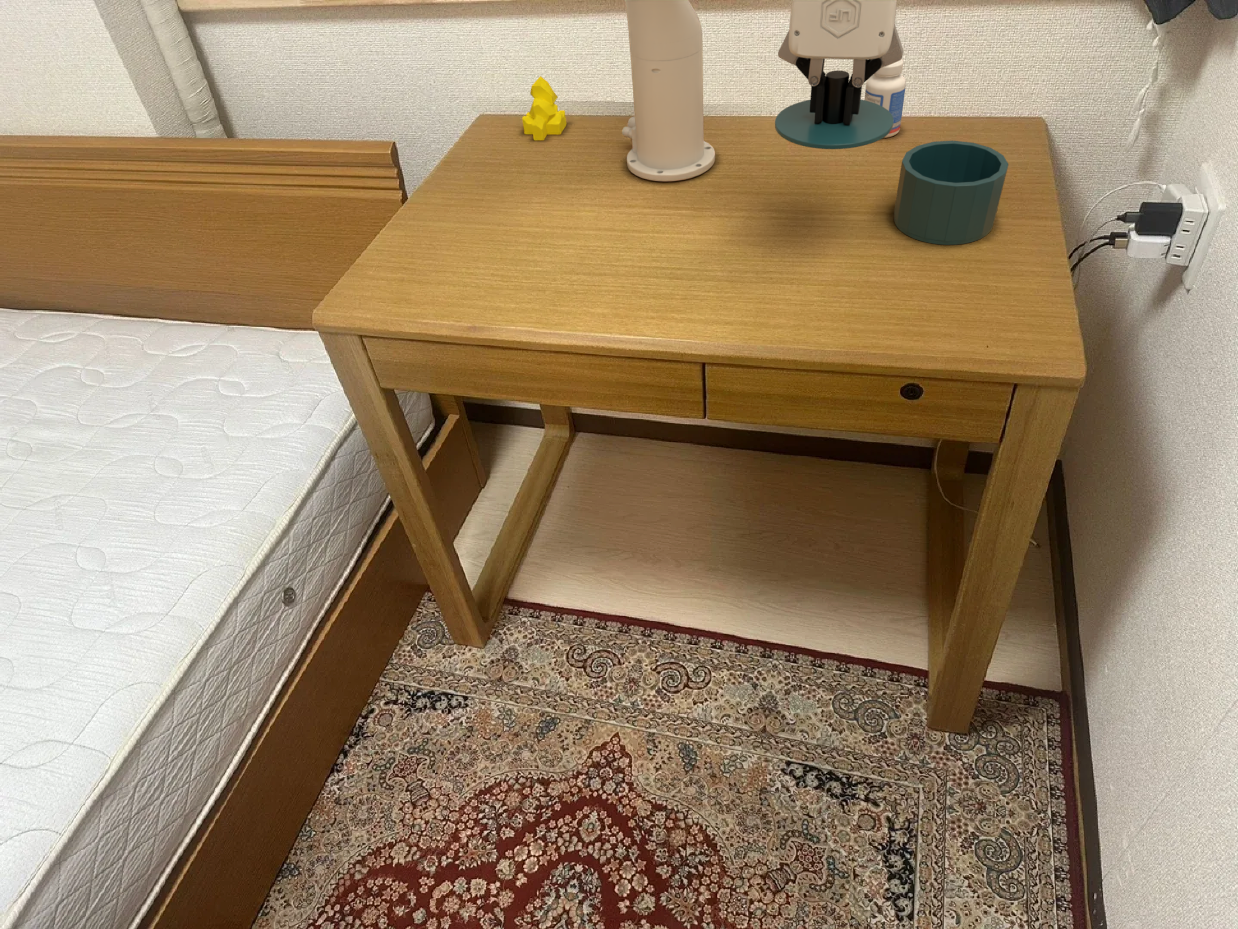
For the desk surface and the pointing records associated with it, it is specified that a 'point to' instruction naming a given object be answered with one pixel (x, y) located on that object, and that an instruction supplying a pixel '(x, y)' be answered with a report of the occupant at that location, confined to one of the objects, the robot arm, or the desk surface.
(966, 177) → the tin
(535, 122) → the yellow irregular lump
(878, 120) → the lid
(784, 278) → the desk surface
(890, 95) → the pill bottle
